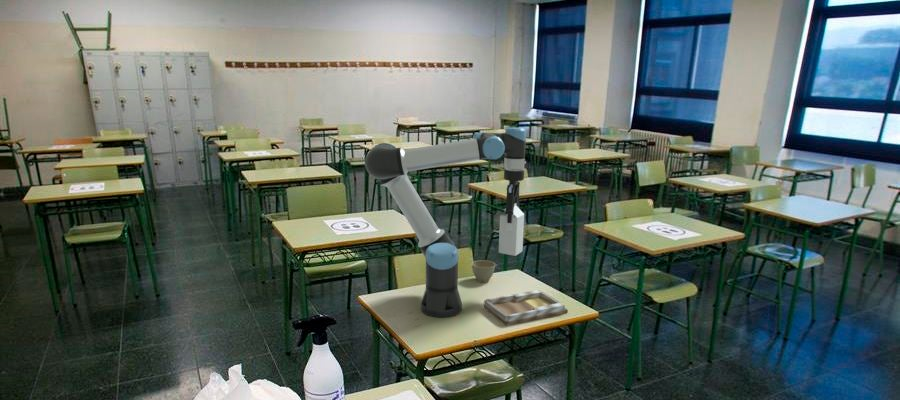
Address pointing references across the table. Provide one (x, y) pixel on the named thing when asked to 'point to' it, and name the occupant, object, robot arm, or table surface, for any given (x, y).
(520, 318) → the divided compartment tray
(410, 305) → the table surface
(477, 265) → the flower pot
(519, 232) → the milk carton
